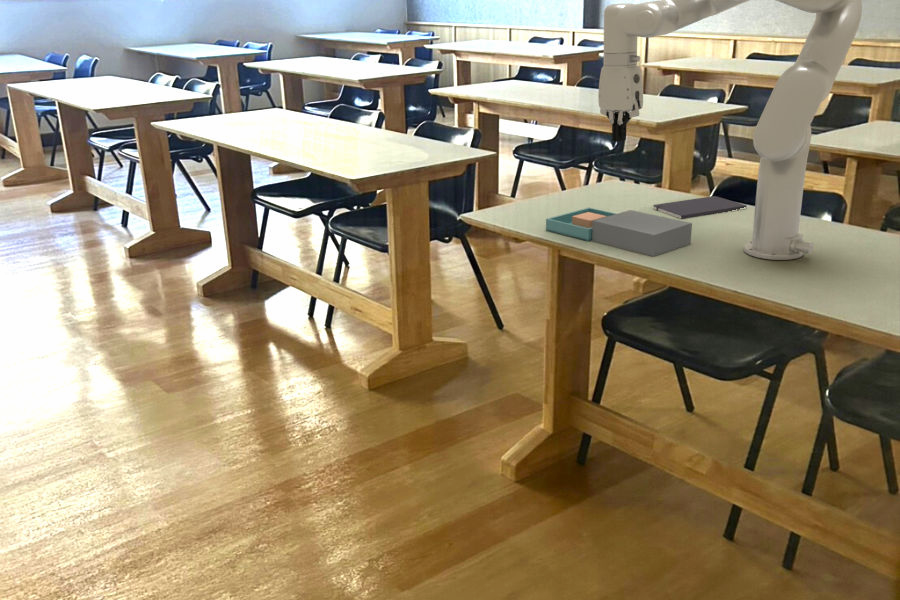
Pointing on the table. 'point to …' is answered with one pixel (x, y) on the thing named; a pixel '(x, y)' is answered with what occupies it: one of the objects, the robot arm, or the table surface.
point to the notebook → (698, 207)
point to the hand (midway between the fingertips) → (619, 140)
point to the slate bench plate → (641, 232)
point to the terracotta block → (585, 219)
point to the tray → (565, 227)
